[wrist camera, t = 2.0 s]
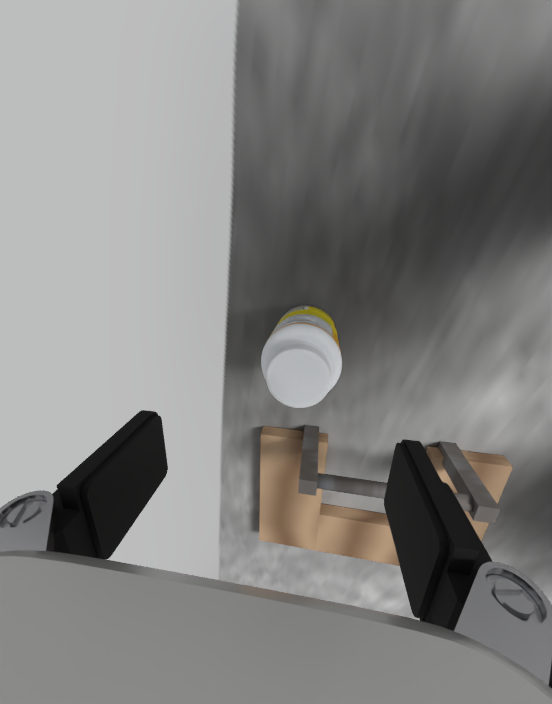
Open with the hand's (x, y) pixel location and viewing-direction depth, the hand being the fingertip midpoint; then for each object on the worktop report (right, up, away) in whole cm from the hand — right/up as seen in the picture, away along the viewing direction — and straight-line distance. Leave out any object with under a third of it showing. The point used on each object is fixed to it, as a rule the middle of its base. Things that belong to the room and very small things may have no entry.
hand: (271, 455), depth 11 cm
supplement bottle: (+3, +6, +15) cm, 17 cm away
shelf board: (+10, -13, +21) cm, 26 cm away
